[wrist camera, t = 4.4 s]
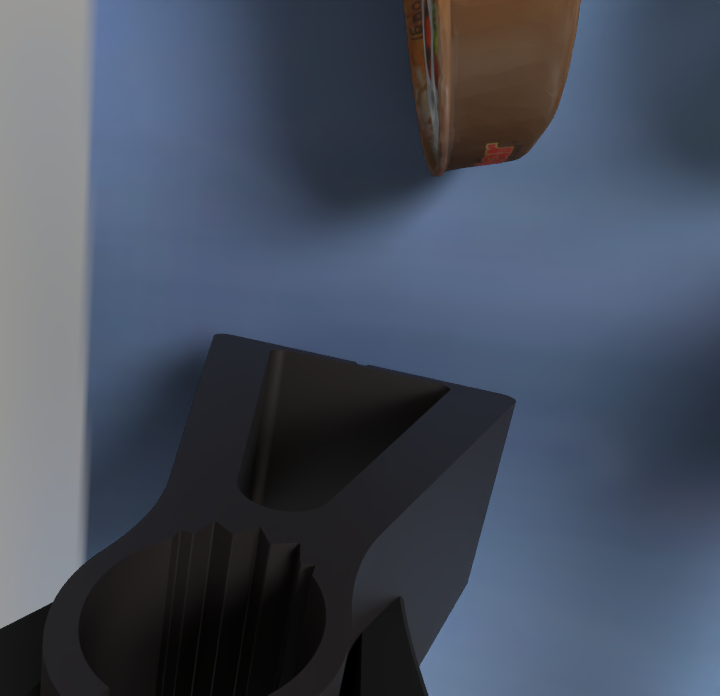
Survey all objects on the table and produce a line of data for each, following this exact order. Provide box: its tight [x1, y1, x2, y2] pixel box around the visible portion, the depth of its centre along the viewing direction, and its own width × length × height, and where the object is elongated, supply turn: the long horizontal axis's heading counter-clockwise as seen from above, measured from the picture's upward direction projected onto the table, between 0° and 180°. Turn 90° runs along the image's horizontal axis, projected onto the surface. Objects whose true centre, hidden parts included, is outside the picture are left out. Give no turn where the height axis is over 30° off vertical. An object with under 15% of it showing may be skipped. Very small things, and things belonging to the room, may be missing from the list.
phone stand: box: [40, 334, 516, 696], centre depth 11 cm, size 9×6×12 cm, turn 79°
